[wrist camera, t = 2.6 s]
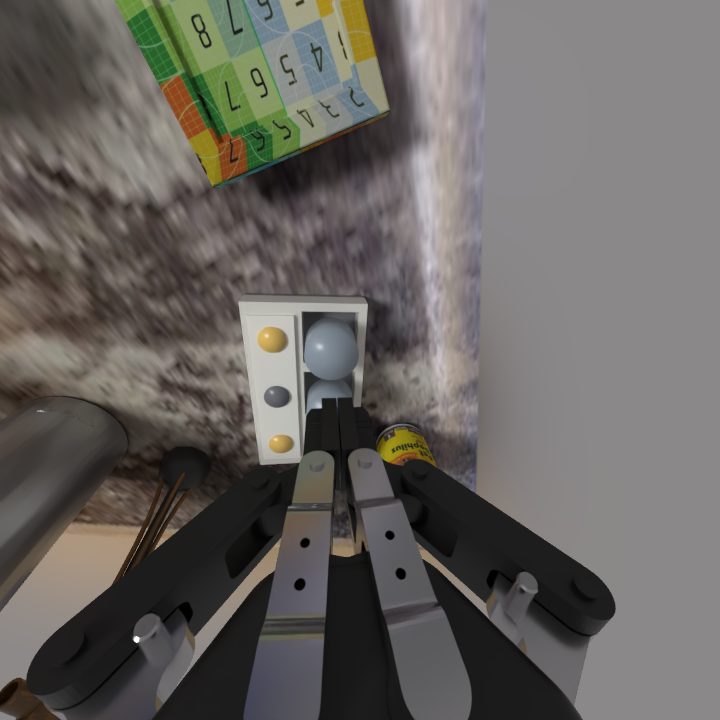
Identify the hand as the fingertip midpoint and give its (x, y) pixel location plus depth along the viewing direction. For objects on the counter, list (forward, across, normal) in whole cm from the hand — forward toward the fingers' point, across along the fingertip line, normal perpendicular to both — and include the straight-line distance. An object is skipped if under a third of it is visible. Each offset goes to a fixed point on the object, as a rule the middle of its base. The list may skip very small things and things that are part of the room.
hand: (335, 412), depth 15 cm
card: (+11, +5, +6) cm, 13 cm away
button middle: (+11, 0, +6) cm, 12 cm away
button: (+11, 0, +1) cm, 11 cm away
